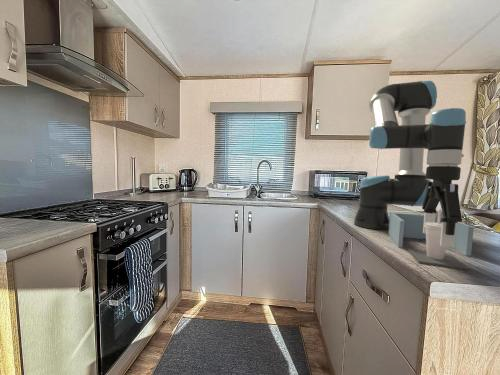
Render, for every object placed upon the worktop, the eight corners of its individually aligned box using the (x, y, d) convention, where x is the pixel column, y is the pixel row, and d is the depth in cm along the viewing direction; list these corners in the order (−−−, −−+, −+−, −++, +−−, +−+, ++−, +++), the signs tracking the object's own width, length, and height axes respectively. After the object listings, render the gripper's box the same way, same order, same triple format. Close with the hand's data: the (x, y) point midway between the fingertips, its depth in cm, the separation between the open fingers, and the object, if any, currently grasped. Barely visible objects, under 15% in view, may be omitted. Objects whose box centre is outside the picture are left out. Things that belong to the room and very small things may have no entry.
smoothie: (450, 257, 68) (455, 210, 67) (448, 263, 63) (453, 212, 62) (423, 251, 72) (427, 207, 71) (419, 256, 68) (423, 209, 67)
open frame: (388, 234, 93) (390, 212, 93) (447, 240, 87) (449, 217, 86) (398, 247, 78) (400, 220, 77) (470, 256, 71) (473, 227, 70)
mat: (407, 250, 75) (407, 248, 75) (449, 255, 71) (450, 253, 71) (418, 263, 65) (418, 261, 65) (468, 270, 61) (468, 267, 61)
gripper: (486, 165, 53) (477, 255, 54) (441, 166, 76) (435, 230, 78) (445, 164, 55) (437, 251, 57) (414, 166, 79) (409, 228, 80)
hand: (436, 239), depth 67 cm, fingers open, 13 cm apart
